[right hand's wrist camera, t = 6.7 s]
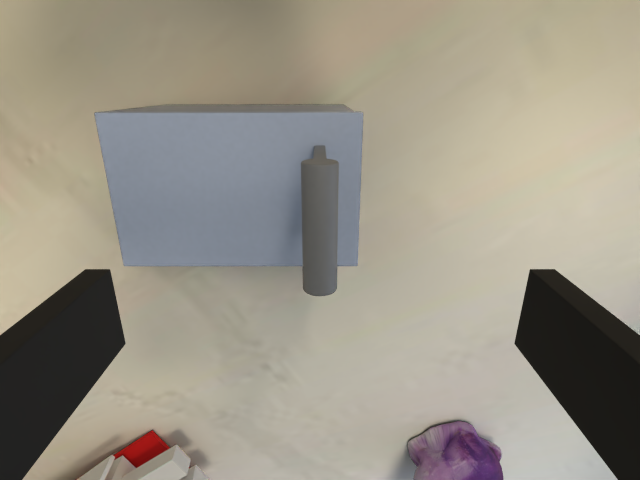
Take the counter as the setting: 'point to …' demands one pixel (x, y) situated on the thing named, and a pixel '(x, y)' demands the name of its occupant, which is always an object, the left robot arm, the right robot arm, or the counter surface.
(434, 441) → the figurine
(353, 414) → the counter surface
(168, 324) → the counter surface
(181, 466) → the toy
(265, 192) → the lid
